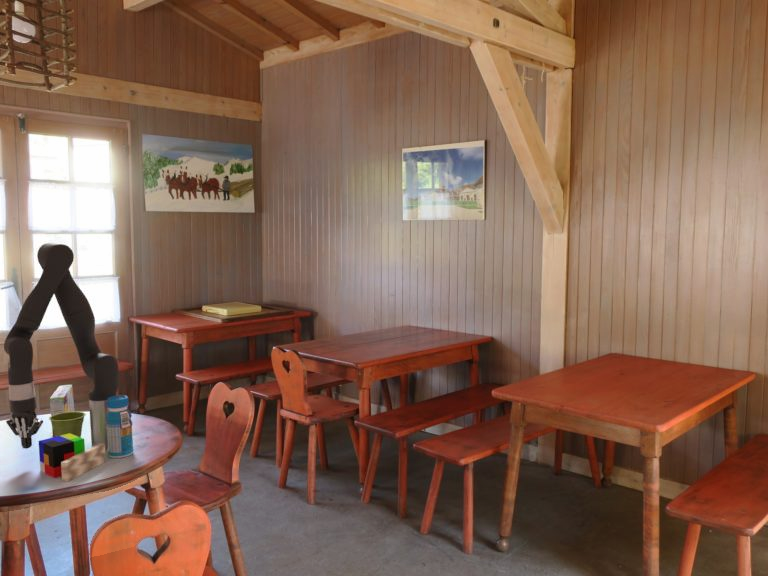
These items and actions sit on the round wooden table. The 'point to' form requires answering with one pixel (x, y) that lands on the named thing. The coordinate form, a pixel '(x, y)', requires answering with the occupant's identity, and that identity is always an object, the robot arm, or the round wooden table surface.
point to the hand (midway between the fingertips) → (26, 447)
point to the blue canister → (119, 427)
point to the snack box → (62, 401)
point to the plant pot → (67, 423)
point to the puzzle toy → (58, 452)
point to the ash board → (83, 462)
